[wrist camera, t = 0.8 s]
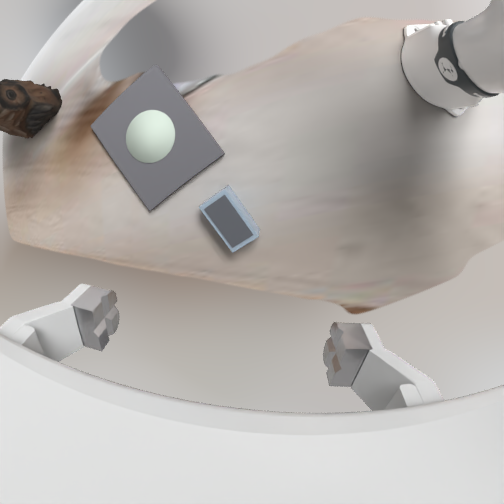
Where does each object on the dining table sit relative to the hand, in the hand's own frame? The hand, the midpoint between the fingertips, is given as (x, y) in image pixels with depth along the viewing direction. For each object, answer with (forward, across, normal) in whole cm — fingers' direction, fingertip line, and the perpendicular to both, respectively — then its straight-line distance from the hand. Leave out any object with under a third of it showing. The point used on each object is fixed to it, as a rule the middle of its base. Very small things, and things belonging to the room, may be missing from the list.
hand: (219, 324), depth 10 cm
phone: (+37, +3, +6) cm, 38 cm away
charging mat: (+37, +18, -6) cm, 41 cm away
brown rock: (+37, +47, -14) cm, 62 cm away
